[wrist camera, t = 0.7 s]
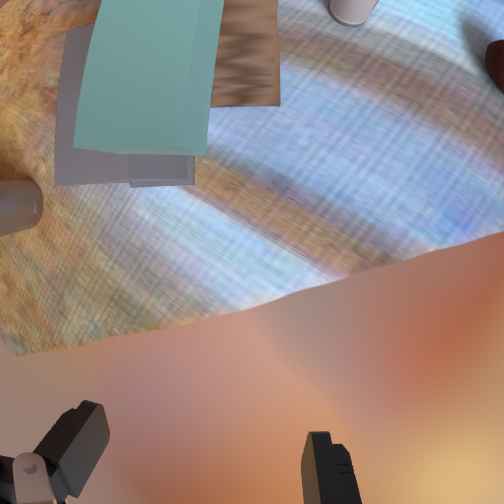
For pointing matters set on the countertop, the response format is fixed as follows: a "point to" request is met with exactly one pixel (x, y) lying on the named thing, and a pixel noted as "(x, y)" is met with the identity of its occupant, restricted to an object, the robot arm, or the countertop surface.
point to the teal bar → (149, 77)
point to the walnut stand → (247, 55)
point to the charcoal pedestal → (98, 162)
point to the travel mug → (351, 11)
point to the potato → (496, 62)
